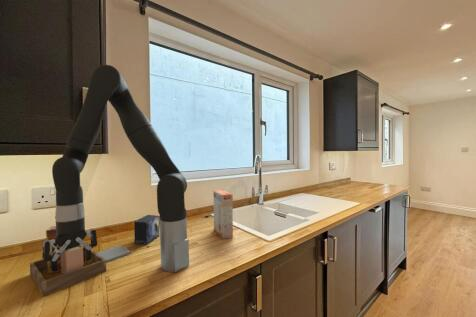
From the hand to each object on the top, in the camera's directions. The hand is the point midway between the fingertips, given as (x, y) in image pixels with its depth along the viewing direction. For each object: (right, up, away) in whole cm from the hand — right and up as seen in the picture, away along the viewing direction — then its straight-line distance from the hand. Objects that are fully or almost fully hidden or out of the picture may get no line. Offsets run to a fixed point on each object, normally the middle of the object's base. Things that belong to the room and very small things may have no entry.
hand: (72, 265), depth 72 cm
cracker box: (+47, -2, +37) cm, 60 cm away
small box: (+13, -3, +30) cm, 32 cm away
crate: (-3, -4, +3) cm, 6 cm away
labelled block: (0, -4, 0) cm, 4 cm away
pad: (+4, -3, +15) cm, 16 cm away
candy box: (-7, -4, +5) cm, 9 cm away
